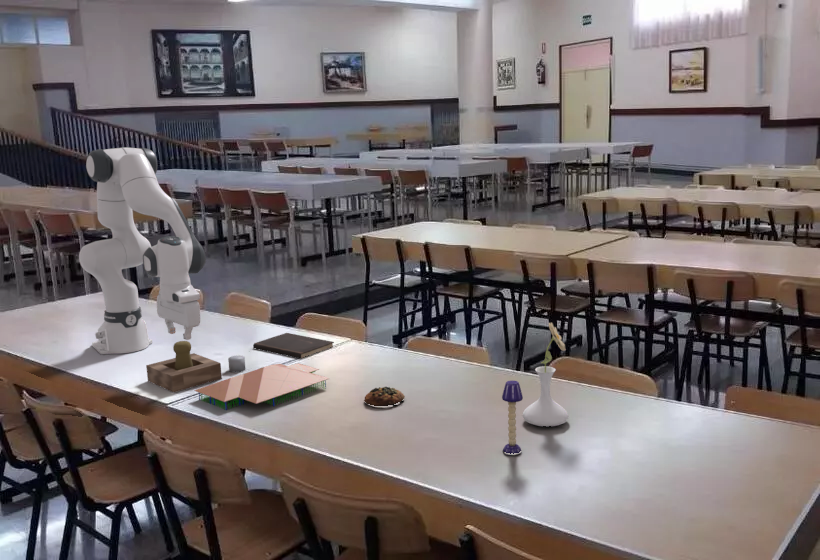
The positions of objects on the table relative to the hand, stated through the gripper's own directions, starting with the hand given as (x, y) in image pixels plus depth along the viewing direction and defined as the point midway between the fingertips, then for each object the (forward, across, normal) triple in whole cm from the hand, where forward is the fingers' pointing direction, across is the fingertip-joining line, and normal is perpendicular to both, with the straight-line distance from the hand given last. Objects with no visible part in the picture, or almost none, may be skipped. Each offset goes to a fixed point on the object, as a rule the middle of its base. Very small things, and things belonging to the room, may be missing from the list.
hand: (179, 336), depth 235 cm
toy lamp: (+12, +108, +24) cm, 111 cm away
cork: (+13, +1, 0) cm, 13 cm away
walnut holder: (+14, +1, 0) cm, 14 cm away
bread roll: (+13, +61, +27) cm, 68 cm away
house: (+14, +30, +10) cm, 34 cm away
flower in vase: (+12, +102, +44) cm, 112 cm away
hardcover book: (+14, -2, +42) cm, 45 cm away
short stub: (+14, +5, +16) cm, 22 cm away
